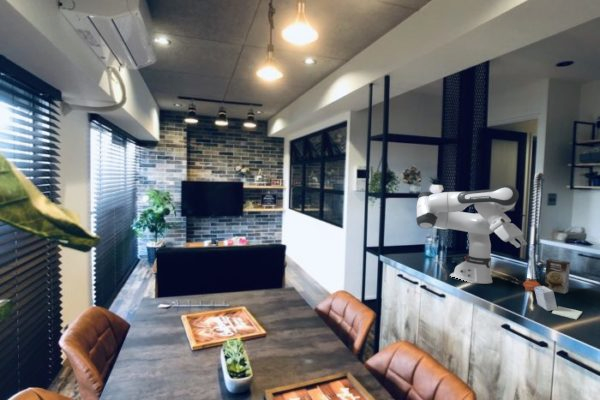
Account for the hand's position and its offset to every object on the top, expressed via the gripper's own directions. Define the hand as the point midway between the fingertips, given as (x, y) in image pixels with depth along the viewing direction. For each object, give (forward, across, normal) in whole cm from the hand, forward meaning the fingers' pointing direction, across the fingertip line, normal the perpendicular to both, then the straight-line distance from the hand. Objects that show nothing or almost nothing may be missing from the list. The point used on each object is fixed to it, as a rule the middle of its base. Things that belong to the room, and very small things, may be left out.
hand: (522, 245), depth 159 cm
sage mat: (+32, 0, -6) cm, 33 cm away
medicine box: (+27, 0, -11) cm, 29 cm away
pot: (+19, -23, -20) cm, 36 cm away
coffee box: (+25, -35, -14) cm, 45 cm away
